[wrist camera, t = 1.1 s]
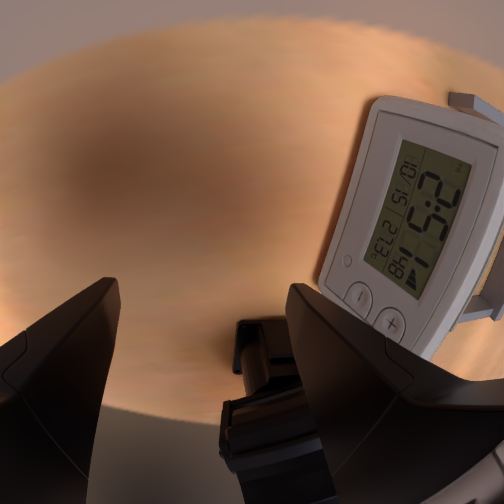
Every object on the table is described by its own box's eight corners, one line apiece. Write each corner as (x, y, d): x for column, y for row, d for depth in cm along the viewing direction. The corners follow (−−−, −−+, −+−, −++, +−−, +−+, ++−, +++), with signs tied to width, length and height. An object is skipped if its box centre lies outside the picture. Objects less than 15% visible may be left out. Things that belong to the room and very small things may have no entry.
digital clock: (374, 82, 17) (490, 85, 8) (450, 143, 20) (549, 181, 11) (278, 275, 23) (322, 383, 14) (364, 301, 26) (422, 387, 17)
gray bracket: (487, 301, 30) (509, 323, 26) (391, 312, 27) (416, 345, 23) (536, 147, 21) (566, 159, 16) (449, 92, 18) (493, 97, 13)
